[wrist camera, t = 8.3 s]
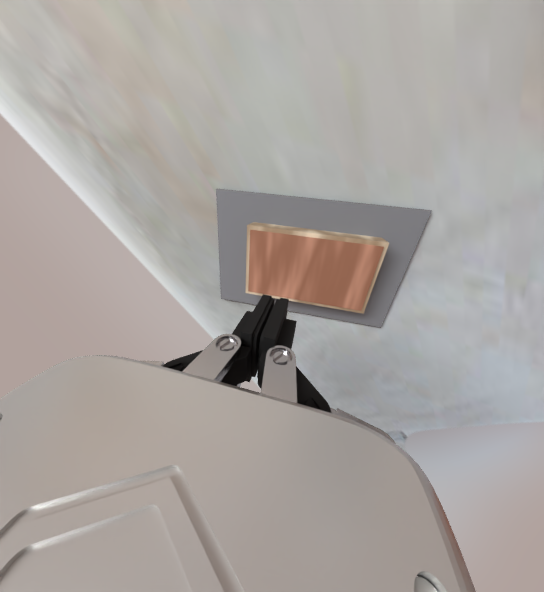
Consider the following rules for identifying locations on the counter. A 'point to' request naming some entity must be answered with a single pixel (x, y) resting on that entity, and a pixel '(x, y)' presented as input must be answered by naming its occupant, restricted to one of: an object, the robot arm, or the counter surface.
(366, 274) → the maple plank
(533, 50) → the counter surface
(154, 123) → the counter surface
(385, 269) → the rubber mat
